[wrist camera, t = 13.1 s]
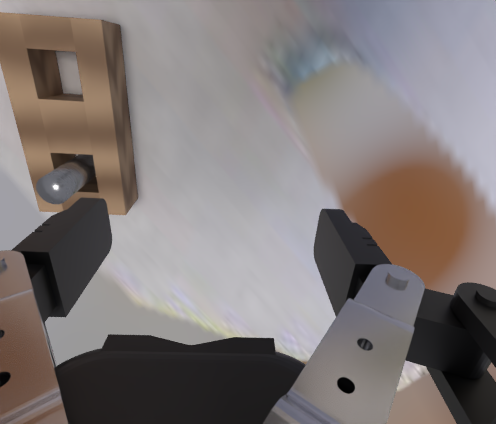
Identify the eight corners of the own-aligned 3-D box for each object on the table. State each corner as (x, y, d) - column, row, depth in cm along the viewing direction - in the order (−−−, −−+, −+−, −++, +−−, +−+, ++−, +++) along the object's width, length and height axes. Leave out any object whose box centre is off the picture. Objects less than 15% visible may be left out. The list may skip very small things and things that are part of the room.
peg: (80, 147, 38) (32, 175, 29) (105, 148, 39) (64, 176, 30) (84, 170, 40) (40, 203, 31) (108, 171, 40) (71, 205, 31)
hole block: (21, 17, 32) (-14, 11, 28) (119, 24, 33) (101, 20, 28) (61, 194, 41) (39, 211, 37) (138, 198, 42) (125, 215, 37)
